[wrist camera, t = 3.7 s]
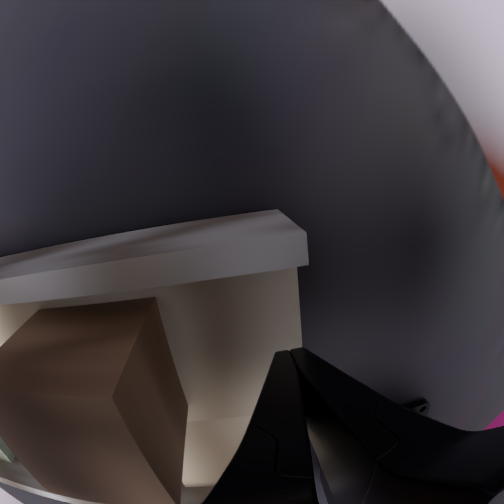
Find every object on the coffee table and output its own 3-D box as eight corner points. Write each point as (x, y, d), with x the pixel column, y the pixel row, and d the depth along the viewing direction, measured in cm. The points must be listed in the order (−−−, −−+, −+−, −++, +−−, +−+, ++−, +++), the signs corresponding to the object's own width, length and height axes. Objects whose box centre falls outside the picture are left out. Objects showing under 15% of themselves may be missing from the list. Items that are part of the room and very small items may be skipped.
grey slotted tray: (277, 209, 11) (306, 232, 7) (297, 447, 15) (312, 502, 11) (-83, 277, 10) (-122, 301, 6) (-4, 437, 14) (-23, 471, 10)
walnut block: (155, 296, 9) (111, 397, 5) (188, 406, 10) (180, 509, 6) (39, 309, 9) (-35, 383, 4) (83, 407, 10) (47, 491, 6)
